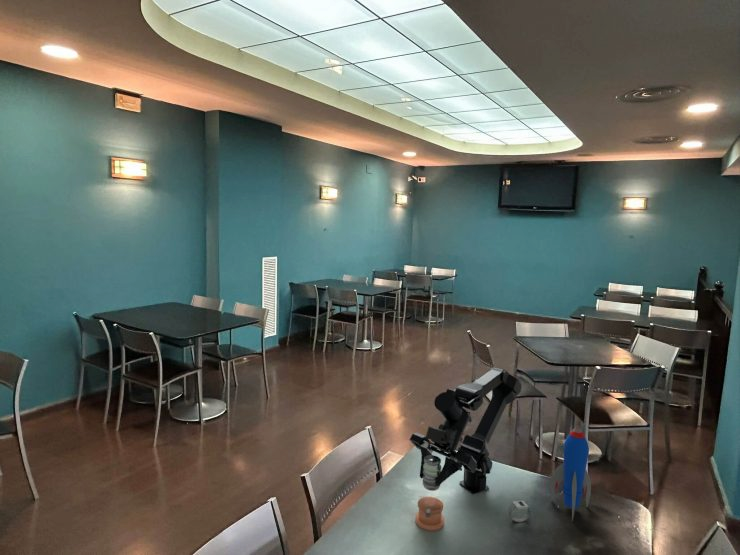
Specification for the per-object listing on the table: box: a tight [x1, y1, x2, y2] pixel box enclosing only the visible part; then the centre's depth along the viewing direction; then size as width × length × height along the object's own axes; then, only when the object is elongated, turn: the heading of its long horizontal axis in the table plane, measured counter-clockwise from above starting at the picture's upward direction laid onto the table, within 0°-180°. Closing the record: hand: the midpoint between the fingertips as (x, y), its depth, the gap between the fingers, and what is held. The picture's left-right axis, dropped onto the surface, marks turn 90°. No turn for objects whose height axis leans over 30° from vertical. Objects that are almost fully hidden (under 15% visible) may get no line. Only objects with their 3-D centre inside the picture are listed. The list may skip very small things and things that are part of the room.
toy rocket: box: [549, 424, 592, 522], centre depth 125 cm, size 11×10×25 cm
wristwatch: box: [507, 500, 532, 523], centre depth 122 cm, size 6×3×5 cm, turn 101°
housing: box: [415, 496, 445, 532], centre depth 121 cm, size 8×8×5 cm
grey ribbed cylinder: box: [422, 454, 442, 492], centre depth 120 cm, size 5×5×8 cm
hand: (428, 481), depth 119 cm, fingers closed on grey ribbed cylinder, 5 cm apart
